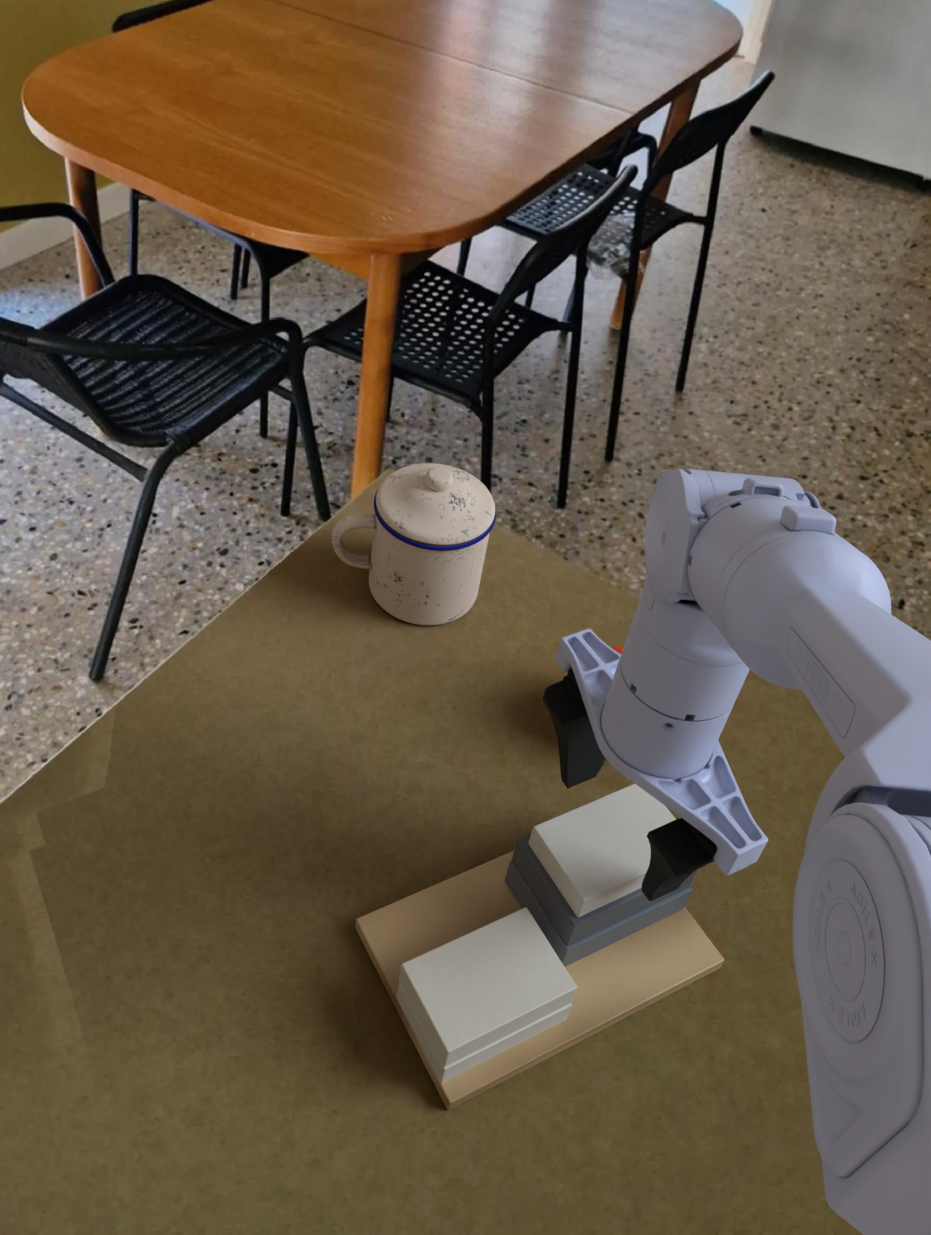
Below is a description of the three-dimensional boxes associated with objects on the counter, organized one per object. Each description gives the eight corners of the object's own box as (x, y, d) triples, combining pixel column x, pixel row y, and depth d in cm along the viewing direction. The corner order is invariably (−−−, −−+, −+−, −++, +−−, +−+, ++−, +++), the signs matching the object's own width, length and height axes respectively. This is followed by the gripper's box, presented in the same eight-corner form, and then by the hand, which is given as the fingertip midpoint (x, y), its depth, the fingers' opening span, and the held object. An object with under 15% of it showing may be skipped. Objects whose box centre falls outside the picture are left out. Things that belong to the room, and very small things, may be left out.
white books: (566, 1020, 61) (579, 988, 59) (440, 1084, 58) (448, 1054, 56) (516, 938, 64) (526, 905, 62) (394, 995, 61) (401, 963, 59)
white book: (690, 864, 64) (699, 847, 63) (577, 918, 61) (583, 901, 60) (637, 796, 67) (644, 778, 66) (527, 843, 64) (532, 826, 63)
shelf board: (720, 968, 65) (725, 959, 64) (447, 1111, 58) (449, 1103, 57) (608, 816, 72) (611, 807, 72) (354, 927, 65) (355, 918, 65)
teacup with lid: (472, 548, 91) (492, 436, 84) (488, 631, 84) (512, 517, 77) (326, 545, 90) (334, 432, 83) (330, 629, 83) (339, 513, 76)
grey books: (683, 908, 67) (703, 869, 64) (560, 969, 63) (575, 930, 60) (623, 827, 71) (639, 786, 68) (503, 880, 67) (515, 839, 64)
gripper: (848, 762, 51) (759, 915, 59) (651, 556, 61) (599, 713, 69) (730, 816, 48) (654, 968, 57) (543, 592, 58) (503, 750, 67)
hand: (617, 831), depth 63 cm, fingers open, 7 cm apart
